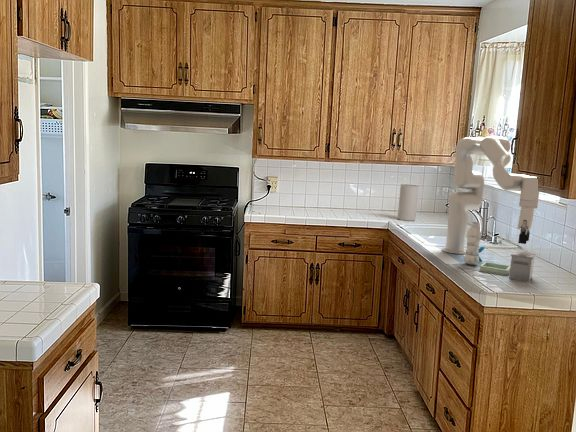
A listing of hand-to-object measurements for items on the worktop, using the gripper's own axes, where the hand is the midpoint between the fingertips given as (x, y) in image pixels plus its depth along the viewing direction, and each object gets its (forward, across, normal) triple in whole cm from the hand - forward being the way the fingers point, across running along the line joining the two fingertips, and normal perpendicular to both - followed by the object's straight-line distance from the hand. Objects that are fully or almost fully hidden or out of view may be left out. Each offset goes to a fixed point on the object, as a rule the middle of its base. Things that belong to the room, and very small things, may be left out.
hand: (523, 241), depth 250 cm
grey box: (+14, +10, +2) cm, 18 cm away
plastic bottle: (+15, -1, -22) cm, 26 cm away
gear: (+15, -12, -22) cm, 29 cm away
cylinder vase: (+15, -122, -90) cm, 152 cm away
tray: (+14, +4, -10) cm, 18 cm away
